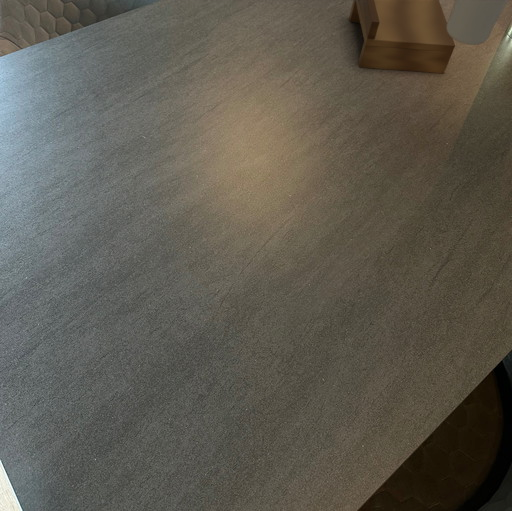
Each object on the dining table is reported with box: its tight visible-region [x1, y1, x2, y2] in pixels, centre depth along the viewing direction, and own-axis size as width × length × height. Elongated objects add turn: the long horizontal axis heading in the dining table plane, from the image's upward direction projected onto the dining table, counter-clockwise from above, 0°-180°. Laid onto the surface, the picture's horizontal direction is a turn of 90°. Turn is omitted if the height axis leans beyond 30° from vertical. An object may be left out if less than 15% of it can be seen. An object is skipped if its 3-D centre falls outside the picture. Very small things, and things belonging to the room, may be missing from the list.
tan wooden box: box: [348, 0, 456, 74], centre depth 101 cm, size 14×14×8 cm
